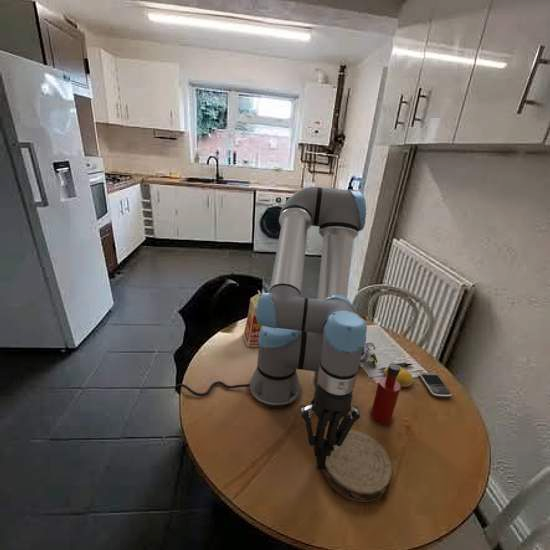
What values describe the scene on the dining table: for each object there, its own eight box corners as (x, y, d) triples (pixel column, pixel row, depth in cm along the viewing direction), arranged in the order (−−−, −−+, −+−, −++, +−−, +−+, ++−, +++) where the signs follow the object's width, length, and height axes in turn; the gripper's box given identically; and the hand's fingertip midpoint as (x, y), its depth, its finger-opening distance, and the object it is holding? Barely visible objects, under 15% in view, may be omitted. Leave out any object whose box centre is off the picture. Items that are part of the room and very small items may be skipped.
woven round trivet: (370, 435, 82) (372, 427, 81) (402, 497, 68) (405, 488, 67) (313, 440, 80) (314, 431, 78) (333, 506, 65) (335, 497, 64)
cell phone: (432, 398, 97) (433, 395, 96) (417, 374, 107) (418, 371, 107) (451, 399, 97) (453, 395, 97) (434, 375, 107) (435, 372, 107)
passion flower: (350, 378, 111) (334, 353, 107) (355, 356, 119) (340, 333, 116) (380, 373, 104) (364, 347, 101) (383, 351, 113) (368, 326, 110)
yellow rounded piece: (404, 392, 99) (407, 382, 97) (379, 376, 105) (382, 366, 103) (416, 381, 104) (419, 371, 102) (392, 367, 110) (394, 357, 108)
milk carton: (243, 334, 121) (245, 288, 114) (265, 332, 124) (269, 287, 116) (248, 348, 113) (251, 300, 106) (272, 345, 116) (276, 298, 109)
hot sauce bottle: (374, 424, 86) (388, 373, 79) (367, 408, 91) (380, 359, 84) (394, 424, 86) (409, 374, 79) (386, 409, 91) (400, 360, 85)
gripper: (306, 396, 59) (293, 479, 68) (372, 398, 60) (351, 479, 69) (301, 370, 66) (290, 448, 75) (360, 372, 67) (342, 449, 76)
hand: (319, 463), depth 72 cm, fingers closed
